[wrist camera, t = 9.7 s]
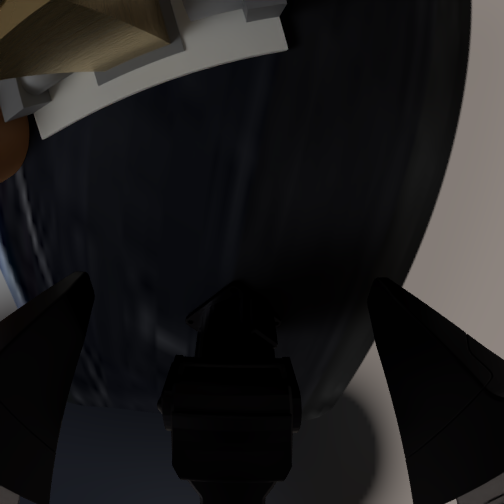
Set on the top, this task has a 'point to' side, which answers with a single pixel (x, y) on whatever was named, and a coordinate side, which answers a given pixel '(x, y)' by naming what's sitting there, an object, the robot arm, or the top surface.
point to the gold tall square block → (76, 35)
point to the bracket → (12, 145)
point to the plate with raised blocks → (151, 61)
